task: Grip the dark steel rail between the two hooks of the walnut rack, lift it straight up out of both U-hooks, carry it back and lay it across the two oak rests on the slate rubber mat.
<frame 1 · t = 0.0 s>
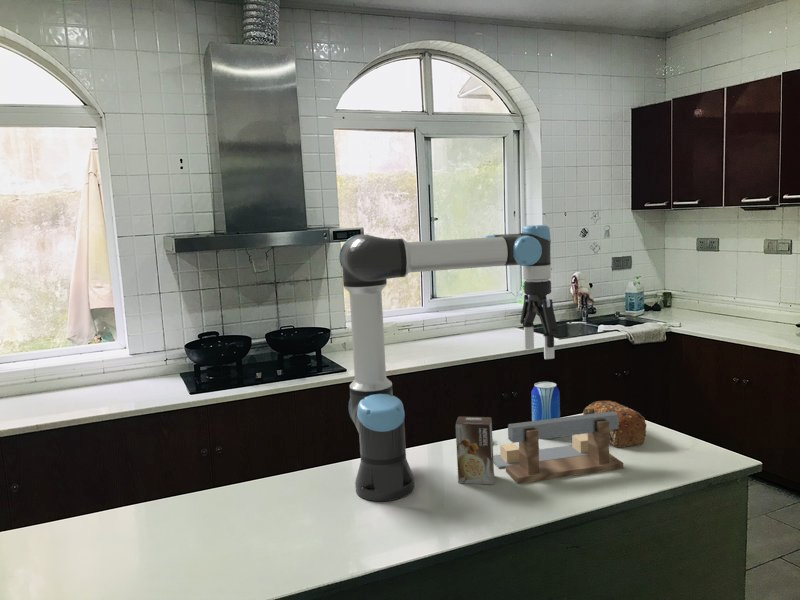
hand: (538, 353, 184), 28 cm above the counter, tool pointing down, fingers open, 13 cm apart
coffee box: (476, 479, 168), on the counter
bread: (613, 437, 193), on the counter
slate mat with oak rests: (547, 455, 181), on the counter
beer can: (546, 435, 197), on the counter
steel rail: (563, 433, 169), point 10 cm above the counter, touching walnut rack
walnut rack: (564, 469, 171), on the counter
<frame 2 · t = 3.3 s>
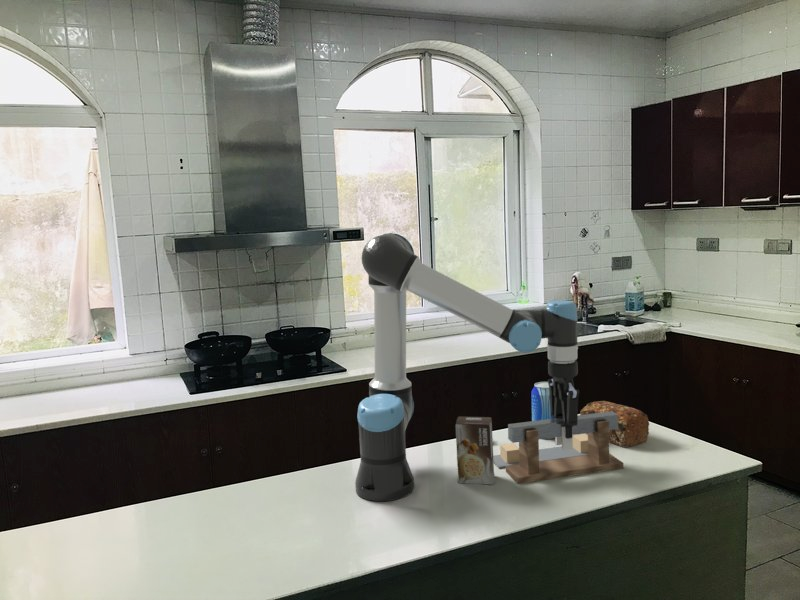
hand: (564, 446, 170), 7 cm above the counter, tool pointing down, fingers closed on steel rail, 3 cm apart
steel rail: (563, 433, 169), point 10 cm above the counter, touching gripper, walnut rack
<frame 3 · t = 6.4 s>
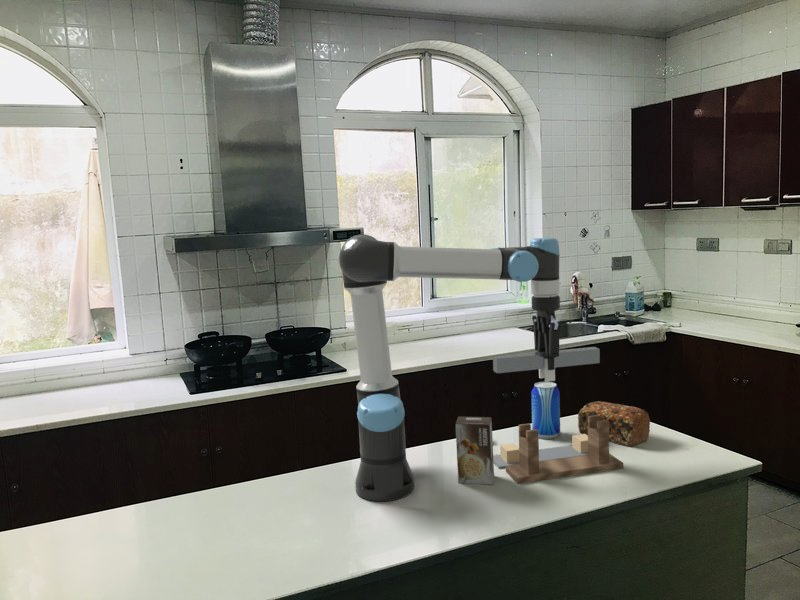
hand: (547, 379, 177), 23 cm above the counter, tool pointing down, fingers closed on steel rail, 3 cm apart
steel rail: (546, 366, 177), point 26 cm above the counter, touching gripper
when the fingers open (3 cm above the counter, at t = 9.4 s): steel rail drops 2 cm, resting on slate mat with oak rests.
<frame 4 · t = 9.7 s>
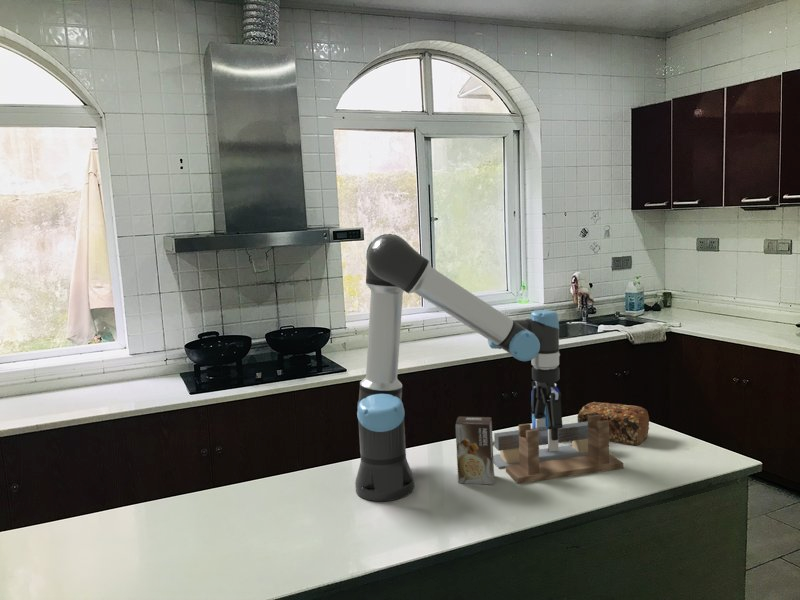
hand: (546, 445, 180), 3 cm above the counter, tool pointing down, fingers open, 7 cm apart
steel rail: (546, 442, 180), point 4 cm above the counter, touching slate mat with oak rests
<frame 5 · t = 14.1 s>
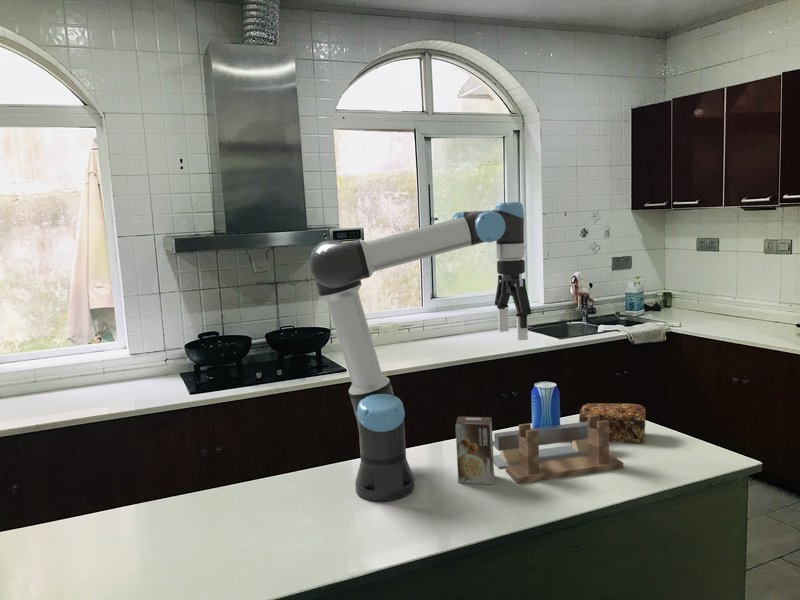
hand: (512, 335, 178), 35 cm above the counter, tool pointing down, fingers open, 13 cm apart
at the end: steel rail 0.0 cm off-centre on the slate mat with oak rests, point 4.0 cm above the slate mat with oak rests's base; steel rail tilted 0°; the gripper is holding nothing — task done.
